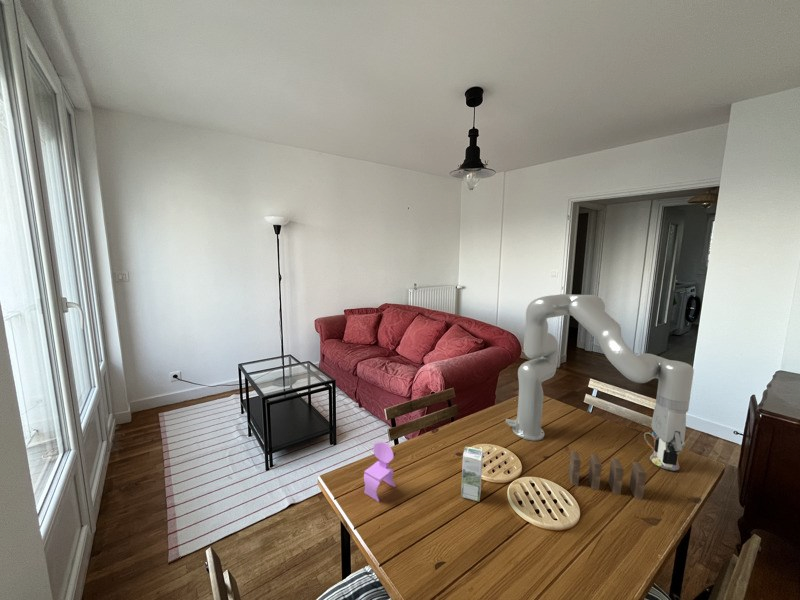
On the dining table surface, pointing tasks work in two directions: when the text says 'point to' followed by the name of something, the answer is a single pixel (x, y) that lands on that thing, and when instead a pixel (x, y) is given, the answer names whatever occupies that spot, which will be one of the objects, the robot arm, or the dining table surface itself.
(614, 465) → the tile
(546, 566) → the dining table surface
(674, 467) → the mug
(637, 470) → the tile
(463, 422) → the dining table surface
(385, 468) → the toy chair
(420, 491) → the dining table surface
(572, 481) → the tile
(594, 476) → the tile
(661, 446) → the white end domino
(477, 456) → the syrup box
